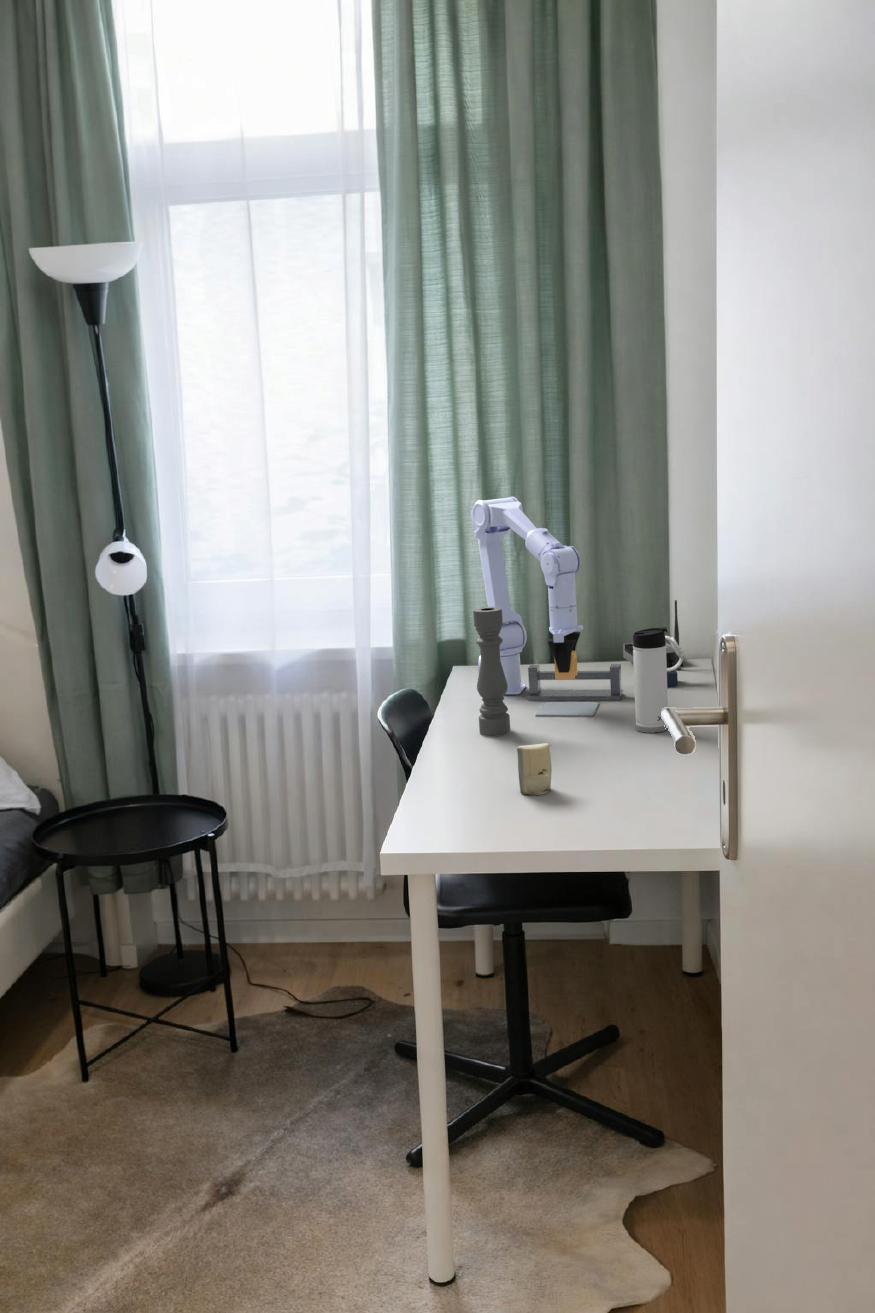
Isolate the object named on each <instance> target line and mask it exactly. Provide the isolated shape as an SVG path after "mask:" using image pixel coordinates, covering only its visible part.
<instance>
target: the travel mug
mask: <svg viewBox="0 0 875 1313" xmlns="http://www.w3.org/2000/svg"><path fill="white" fill-rule="evenodd" d="M665 633H668V627H666V626H663V627H653V628H652V627H651V628H645V629H641V630H638V631H635V632H634V633H633V635H632V642H633V661H634V665H633V681H634V682H633V683H634V684H633V687H634V713H635V729H636V731H638V732H640V733H644V732H645V733H646V734H656V733H655V732H658V733H661V732H660V731H663V732H665V728H666V725H665V723H664V721H663V720H662V719H661V710H662V708H664V707H668V708H669V704H668V703H669V702H668V699H669V697H668V687H667V662H666V642H667V641H666V640H667V639H666V638H665V636H666V634H665ZM665 641H666V642H665ZM664 725H665V727H664ZM667 730H668V729H667V728H666V731H667Z"/></svg>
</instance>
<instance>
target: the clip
mask: <svg viewBox="0 0 875 1313" xmlns="http://www.w3.org/2000/svg"><path fill="white" fill-rule="evenodd" d="M577 655H578V654H577V649H575V650H574V651H572V654H571V663H570V670H569V672H568V673H559V671H558V668H557V665H556V661H555V657H554V656H553V660H554V671H555V679H575V676H577V671H578V659H577V658H578V656H577Z"/></svg>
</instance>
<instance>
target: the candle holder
mask: <svg viewBox="0 0 875 1313" xmlns="http://www.w3.org/2000/svg"><path fill="white" fill-rule="evenodd" d="M472 613H473V616H472V618H473V627H475V631H476V632H477V634H478V638H477V639H476V641H475V643H476V644H477V645H478V646H479V652H480V653H479V654H481V664H480V670H479V672H478V676H477V677H478V678H477V683H476V691H477V693H478V695H479V697H481V700H482V702H483V703H482V704H481V707H479V712H480V714H479V716H478V727H479V734H480V735H481V736H484V737H500V736H505V735H508V734H510V733H511V720H510V719H511V717H510V714H509V713H508V711H509V707H508V706H507V705H506V703H505V702H504V700H505V698H504V697H505V695H507V694H506V692H507V689H508V684H507V681H506V678H505V674H504V671H503V668H502V664H501V661H500V644H501V643H502V641H503V639H502V638H501V637H499V633H500V630H501V629H502V627H501V626H502V625H503V623H504V622H503V618H502V608H500V607H488V606H485V607H483V606H482V607H477V608H474V609H472Z"/></svg>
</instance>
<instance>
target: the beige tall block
mask: <svg viewBox="0 0 875 1313" xmlns="http://www.w3.org/2000/svg"><path fill="white" fill-rule="evenodd" d="M550 748H551V745H550V744H549V743H547V742H544V743H538V744H537V743H535V744H527V745H519V746H517V748H516V752H517V768H518V769H517V772H518V783H519V791H520V793H521V794H522V795H524V796H526V795H534V796H536V795H537V796H540V795H545V794H546V793H548V792H551V791H552V790H551V787H552V786H551V785H552V783H551V782H552V771H553V770H552V766H553V765H552V757H551V749H550Z"/></svg>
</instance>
